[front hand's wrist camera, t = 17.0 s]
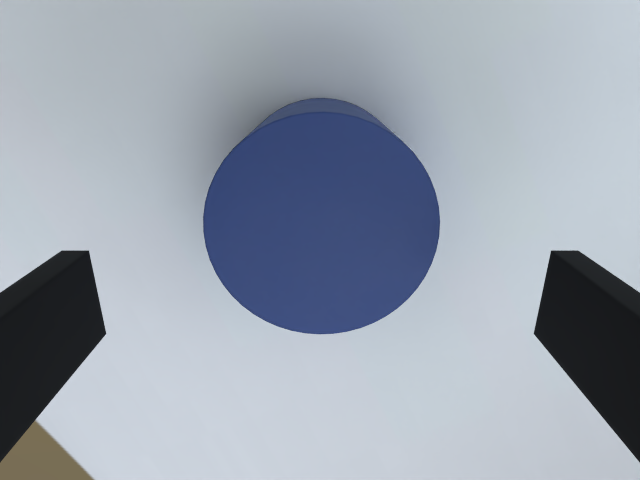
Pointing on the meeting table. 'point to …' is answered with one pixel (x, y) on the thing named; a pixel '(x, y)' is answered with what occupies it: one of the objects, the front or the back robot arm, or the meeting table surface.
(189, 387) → the meeting table surface
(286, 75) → the meeting table surface
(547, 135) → the meeting table surface
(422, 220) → the can
